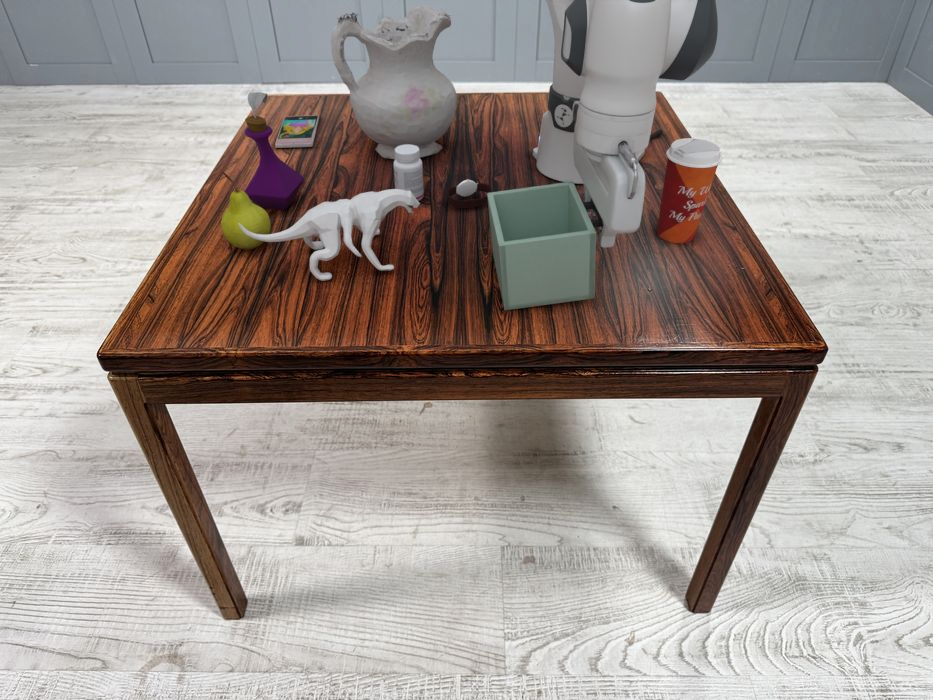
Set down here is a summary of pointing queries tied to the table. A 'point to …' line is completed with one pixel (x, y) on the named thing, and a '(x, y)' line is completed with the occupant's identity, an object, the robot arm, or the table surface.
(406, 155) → the pill bottle
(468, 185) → the watch
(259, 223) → the fruit
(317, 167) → the table surface
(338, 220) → the white toy dinosaur
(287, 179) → the perfume bottle
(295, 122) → the smartphone
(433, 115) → the ceramic pitcher
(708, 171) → the paper cup
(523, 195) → the basket
